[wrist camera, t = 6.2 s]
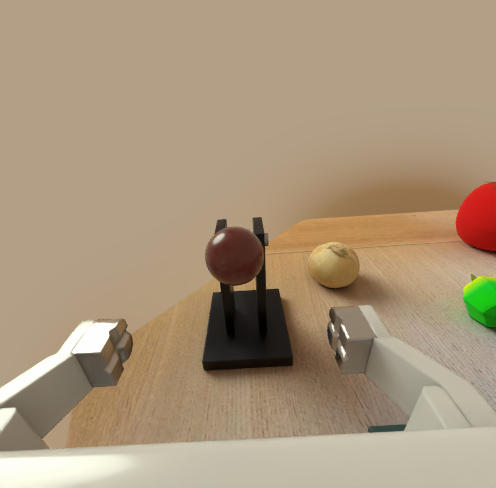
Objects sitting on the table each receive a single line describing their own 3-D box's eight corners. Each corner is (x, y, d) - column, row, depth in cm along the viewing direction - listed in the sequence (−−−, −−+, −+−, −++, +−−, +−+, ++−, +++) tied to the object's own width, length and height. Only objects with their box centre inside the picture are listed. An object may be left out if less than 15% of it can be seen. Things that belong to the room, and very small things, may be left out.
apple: (535, 289, 26) (484, 247, 34) (467, 314, 29) (435, 270, 37) (563, 332, 28) (509, 282, 35) (496, 351, 31) (459, 301, 38)
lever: (267, 290, 14) (264, 225, 13) (202, 294, 14) (197, 229, 13) (257, 254, 29) (255, 223, 29) (226, 256, 29) (224, 225, 29)
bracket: (292, 365, 28) (297, 250, 21) (203, 370, 28) (179, 257, 21) (278, 296, 39) (278, 204, 32) (214, 300, 39) (200, 209, 32)
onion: (296, 279, 42) (298, 242, 39) (324, 261, 47) (328, 226, 43) (339, 302, 37) (345, 261, 34) (366, 279, 41) (374, 241, 38)
